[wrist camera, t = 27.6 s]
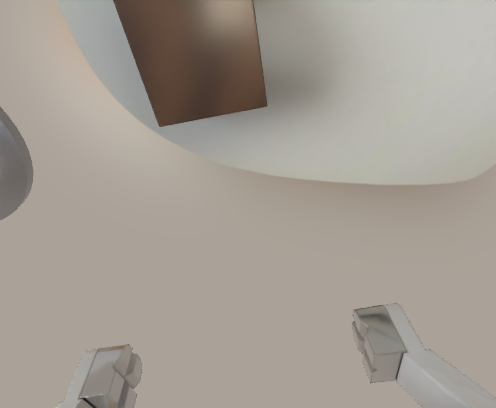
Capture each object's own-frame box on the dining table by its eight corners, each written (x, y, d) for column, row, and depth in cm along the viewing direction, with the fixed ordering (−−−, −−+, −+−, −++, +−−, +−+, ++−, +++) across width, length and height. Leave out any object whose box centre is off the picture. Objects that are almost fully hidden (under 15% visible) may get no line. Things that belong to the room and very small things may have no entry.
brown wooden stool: (174, 98, 38) (159, 127, 30) (141, -6, 31) (110, -6, 23) (259, 82, 37) (267, 106, 29) (243, -28, 31) (248, -36, 23)
